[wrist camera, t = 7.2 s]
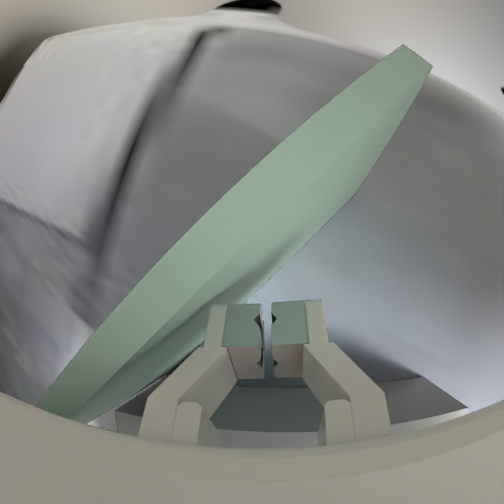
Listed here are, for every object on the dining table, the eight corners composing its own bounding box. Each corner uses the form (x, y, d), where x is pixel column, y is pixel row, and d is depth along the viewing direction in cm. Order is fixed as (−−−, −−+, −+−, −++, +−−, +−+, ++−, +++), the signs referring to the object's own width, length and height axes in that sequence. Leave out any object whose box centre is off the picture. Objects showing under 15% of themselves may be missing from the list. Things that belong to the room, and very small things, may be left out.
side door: (332, 170, 21) (373, 24, 7) (356, 192, 20) (433, 66, 7) (142, 354, 21) (1, 408, 7) (162, 378, 21) (33, 456, 7)
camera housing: (423, 376, 18) (468, 407, 11) (394, 506, 17) (413, 552, 10) (139, 376, 21) (88, 403, 14) (159, 500, 19) (129, 542, 13)
